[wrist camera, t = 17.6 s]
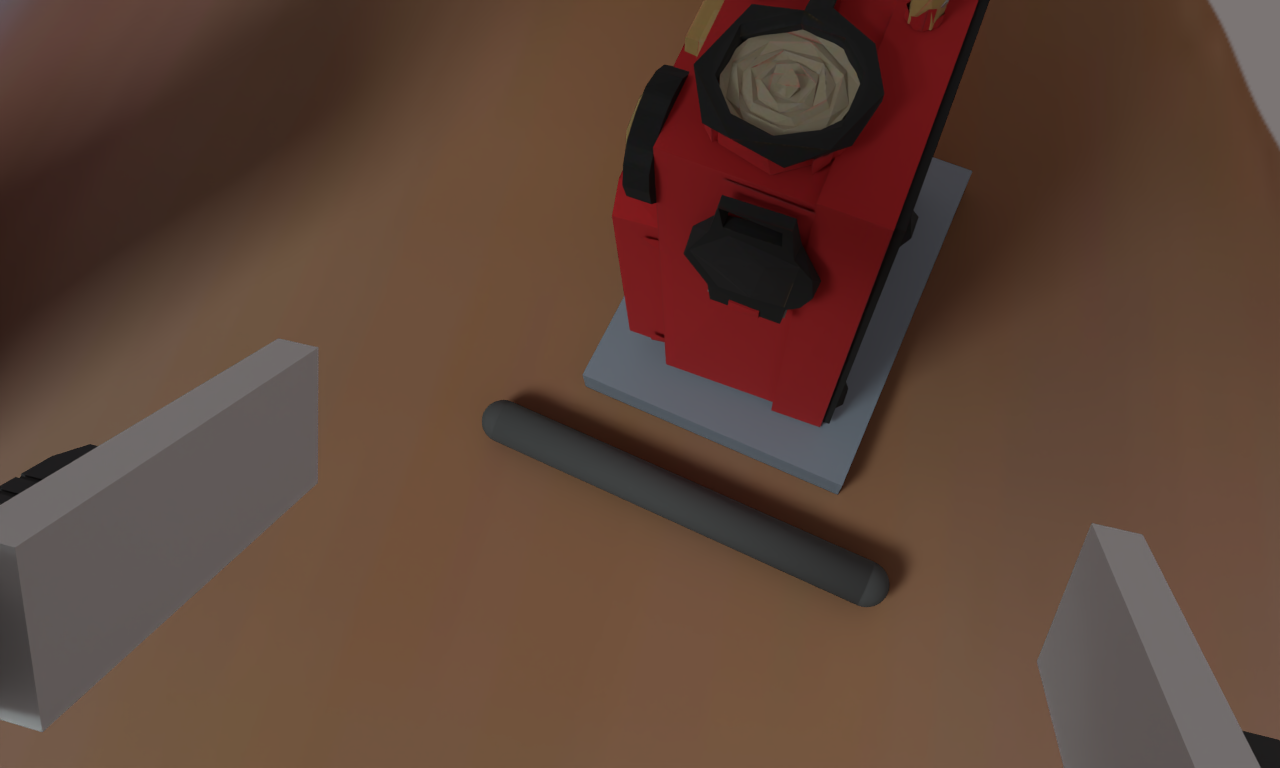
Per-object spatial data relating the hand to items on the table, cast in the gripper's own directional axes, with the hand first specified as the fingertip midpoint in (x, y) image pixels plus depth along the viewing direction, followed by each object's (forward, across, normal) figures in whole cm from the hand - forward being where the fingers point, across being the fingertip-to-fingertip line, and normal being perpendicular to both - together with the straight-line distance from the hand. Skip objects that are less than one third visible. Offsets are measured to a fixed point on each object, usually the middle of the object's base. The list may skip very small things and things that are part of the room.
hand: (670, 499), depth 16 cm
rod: (+24, -2, -15) cm, 28 cm away
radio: (+32, 0, -5) cm, 32 cm away
